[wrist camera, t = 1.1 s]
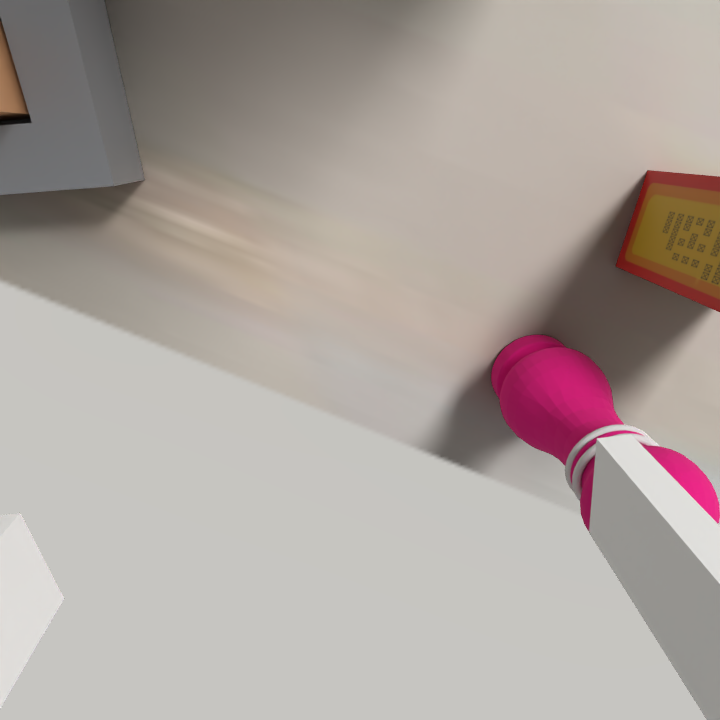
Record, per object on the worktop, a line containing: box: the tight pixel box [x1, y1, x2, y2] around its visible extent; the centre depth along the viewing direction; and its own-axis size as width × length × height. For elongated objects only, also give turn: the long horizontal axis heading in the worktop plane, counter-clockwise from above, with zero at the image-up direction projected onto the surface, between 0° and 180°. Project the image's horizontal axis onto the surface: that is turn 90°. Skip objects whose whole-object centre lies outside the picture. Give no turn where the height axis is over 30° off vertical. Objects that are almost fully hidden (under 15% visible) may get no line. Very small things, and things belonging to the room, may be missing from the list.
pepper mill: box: [491, 335, 720, 531], centre depth 30 cm, size 7×7×20 cm
